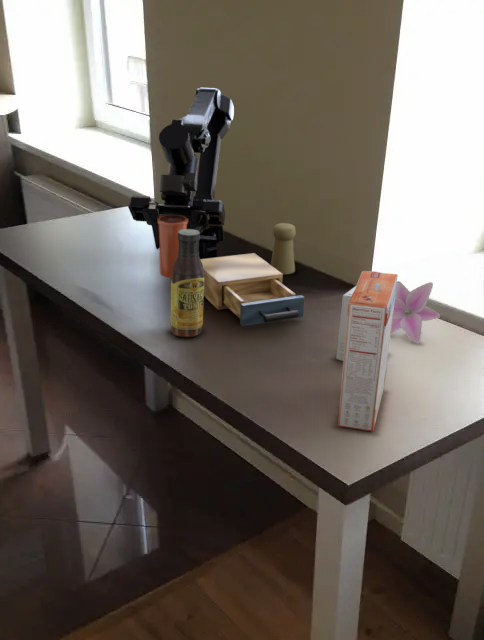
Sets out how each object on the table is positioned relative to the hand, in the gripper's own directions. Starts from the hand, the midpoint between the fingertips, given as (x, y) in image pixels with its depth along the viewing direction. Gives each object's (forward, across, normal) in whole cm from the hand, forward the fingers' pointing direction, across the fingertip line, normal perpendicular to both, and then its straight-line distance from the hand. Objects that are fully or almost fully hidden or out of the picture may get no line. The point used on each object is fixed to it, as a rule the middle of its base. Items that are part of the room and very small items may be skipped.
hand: (171, 249), depth 145 cm
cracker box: (+33, +38, -14) cm, 52 cm away
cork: (-12, +20, +31) cm, 39 cm away
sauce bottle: (+16, +5, +3) cm, 17 cm away
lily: (+11, +47, +9) cm, 49 cm away
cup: (+3, 0, +5) cm, 6 cm away
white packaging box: (+20, +38, 0) cm, 43 cm away
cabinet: (0, +11, +19) cm, 22 cm away
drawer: (+8, +18, +10) cm, 22 cm away
